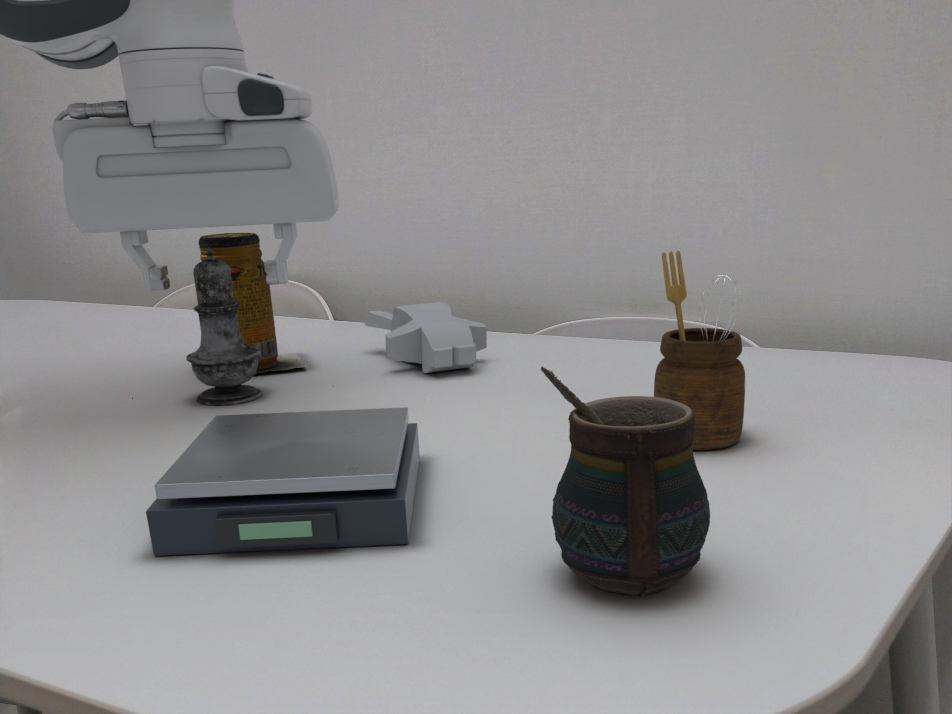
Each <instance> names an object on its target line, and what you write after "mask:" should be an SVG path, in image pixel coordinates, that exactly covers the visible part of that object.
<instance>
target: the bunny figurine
mask: <svg viewBox="0 0 952 714" xmlns="http://www.w3.org/2000/svg"><path fill="white" fill-rule="evenodd" d="M364 326H366V327H369V328H375V329H382V330H388V331H390V332H388V333H386V334H385V335H384V339H385V340H384V341H385V358H386V359H387V360H390V361H399V362H406V363H415V364H419V365H421V370H422V373H423V374H430V373H437V372H445V371H452V370H454V371H455V370H461V369H467V368H471V367H472V366H473V364H477V352H479V351H482V350H484V349H487V348H488V347H487V346H488V345H487V344H488V342H487V339H488V336H487V335H488V333H487V331H488V330H487V329H488V328H487V325H486V324H485V323H482V322H477V321H473V320H470V319H466V318H461V317H457V316H456V315H452V308H451V307H450V305H449V304H448V303H446V302H444V301H435V302H425V303H416V304H407V305H397V306H393V312H392V313H391V312H388V311H384V310H369V311H368V313H367V316H366V319H365V322H364Z"/></svg>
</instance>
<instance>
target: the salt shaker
mask: <svg viewBox="0 0 952 714" xmlns="http://www.w3.org/2000/svg"><path fill="white" fill-rule="evenodd" d="M213 253H214V252H212V250H211V249H210V248H209V247H208V248H207V250H206V252H205V254H206V255H207V258H205V259H204V260H203V261H199V262H197V263H196V264H195V265H194V267H193V273H192V275H193V281H194V287H195V294H196V301H197V305H195V306H194V307H193V311H195V312H196V313H197V314H198V315H197V316H198V322H199V327H200V343H199V346H198V348H197V350H195V351H193V352H191V353H189V354H188V355H186V357H185V359H186V361H187V362H188V363H190V365H191V370H192V372H193V374H194V375H195V377H196V379H198V380H199V381H200V382H201V383H202V384H204V385H205V386H209V387H211V388H208V389H205V390H203V391H202V392H201V393H200V394H198V396H196V402H197V403H198V404H201V405H206V406H230V405H238V404H244V403H247V402H252V401H255V400H258V399H259V398H261V397H262V396H263V391H262V390H261V389H259V388H257V387H255V386H254V385H250V384H245V383H248V382H249V381H251V380H252V378H253V377H254V376H255V375H256V374H255V373H256V370H257V366H258V359H257V357H258V356H259V355H260V354H261V351H260V350H259V349H257V348H254V347H250V346H248V345H247V344H246V343H244V341H243V338H242V336H241V333H240V330H239V323H238V316H237V309H238V308H239V307H240V304H238V303H236V302H235V301H234V294H233V286H232V279H231V272H230V268H229V266H228V265H227V264H226V263H225V262H223V261H220V260H217V259H216V258H213V255H212V254H213Z"/></svg>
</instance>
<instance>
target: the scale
mask: <svg viewBox="0 0 952 714" xmlns="http://www.w3.org/2000/svg"><path fill="white" fill-rule="evenodd" d="M419 440H420V439H419V425H418V423H416V422H408V424H407V430H406V435H405V440H404V445H403V450H402V455H401V460H400V466H399V471H398V476H397V481H396V486H395V489H379V490H357V491H335V492H313V493H291V494H269V495H247V496H225V497H203V498H181V499H159V500H158V499H157V498H156V499H155V500H154V501H153V502H152V503H151V505H150V506H149V507H148V508H147V509H146V510H145V515H146V519H147V520H146V521H147V526H148V531H149V537H150V543H151V547H152V548H151V549H152V553H153V556H154V557H159V556H181V555H183V556H184V555H202V554H225V553H226V554H227V553H247V552H266V551H268V552H269V551H287V550H289V551H290V550H308V549H309V550H310V549H328V548H329V549H331V548H349V547H350V548H351V547H353V548H354V547H372V546H393V545H395V546H396V545H408V544H409V541H410V536H411V535H410V533H411V526H412V521H413V520H412V519H413V512H414V505H415V497H416V491H417V482H418V475H419V469H420V468H419V467H420V461H421V456H420V455H421V453H420V442H419Z"/></svg>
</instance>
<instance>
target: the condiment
mask: <svg viewBox="0 0 952 714" xmlns="http://www.w3.org/2000/svg"><path fill="white" fill-rule="evenodd" d="M260 242H261V240H260V236H259V235H258V234H257V233H256V232H224V233H212V234H206V235H201V236H200V237H199V239H198V246H199V253H200V255H199V257H200V262H202V261H203V260H204V259H205V258H207V255H206V254H205V252H206V250H207V248H208V247H209V248H210V249H211V250H212V252H214V253H213V254H212V255H213V258H216V259H217V260H220V261H223V262H225V263H226V264H227V265H228V266H229V268H230V272H231V279H232V286H233V294H234V301H235V302H236V303H238V304H240V307H239V308H238V309H237V316H238V323H239V330H240V333H241V336H242V338H243V341H244V343H246V344H247V345H248V346H250V347H254V348H257V349H259V350H260V351H261V354H260V355H259V356H258V357H257V359H258V366H257V370H256V373H255V374H254V375H256V374H259V373H261V374H263V373H266V372H276V371H287V370H291V369H295V368H296V369H297V368H299V369H300V368H307V365H305V363H304V362H303V361H302V359H301V357H300V355H299V354H298V353H285V354H279V350H278V342H277V334H276V326H275V325H276V324H275V317H274V310H273V303H272V294H271V293H272V292H271V285H267V282H266V275H267V273H266V272H265V268H264V262H265V261H263V259H262V256H263V252H262V250H261V245H260Z"/></svg>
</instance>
